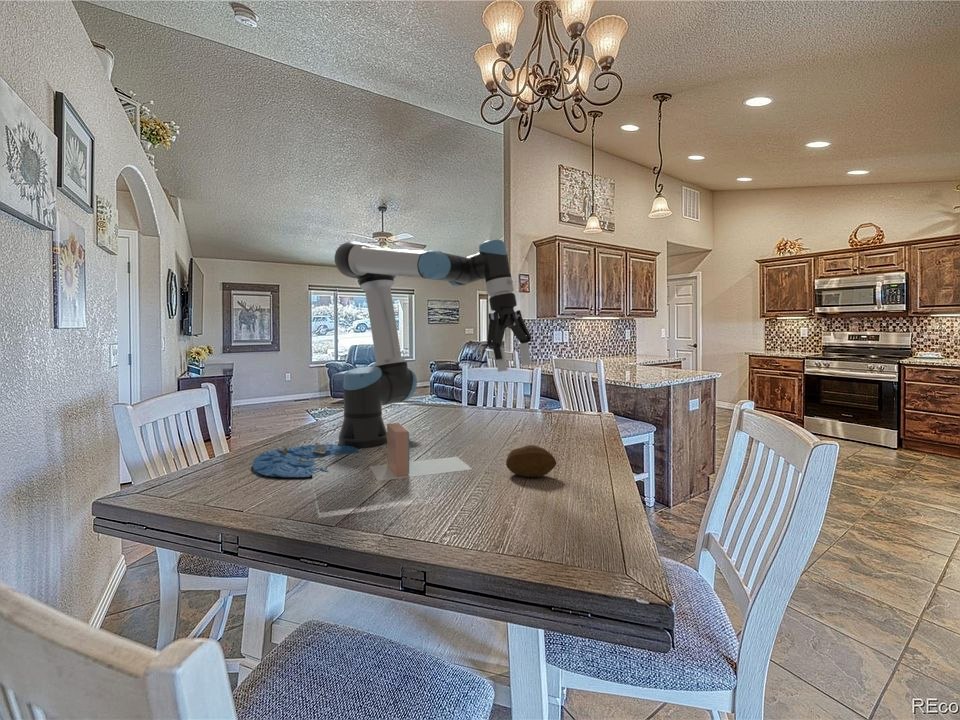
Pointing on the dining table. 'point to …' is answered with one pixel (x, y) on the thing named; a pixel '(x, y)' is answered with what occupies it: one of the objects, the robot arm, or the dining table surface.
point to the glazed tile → (398, 449)
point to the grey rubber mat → (422, 468)
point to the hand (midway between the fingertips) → (515, 367)
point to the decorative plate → (297, 459)
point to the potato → (530, 461)
